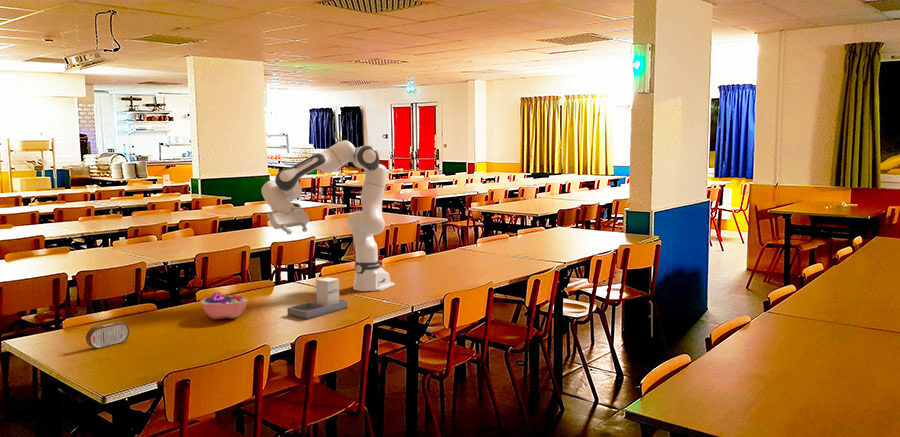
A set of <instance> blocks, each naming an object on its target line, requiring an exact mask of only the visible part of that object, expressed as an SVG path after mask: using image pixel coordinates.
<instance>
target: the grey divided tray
mask: <svg viewBox="0 0 900 437" xmlns="http://www.w3.org/2000/svg"><path fill="white" fill-rule="evenodd" d="M347 309H348V300H345V299H340V298H339V303H335V304H332V305H328V306H325V305H321V304H317V299H315V300H312V301H308V302H303V303H300V304H297V305H292V306H289V307H287V317H292V318H296V319H300V320H305V321H308V320H311V319H316V318H319V317H322V316H325V315H326V316H327V315H329V314H334V313H336V312H339V311H342V310H347Z"/></svg>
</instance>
